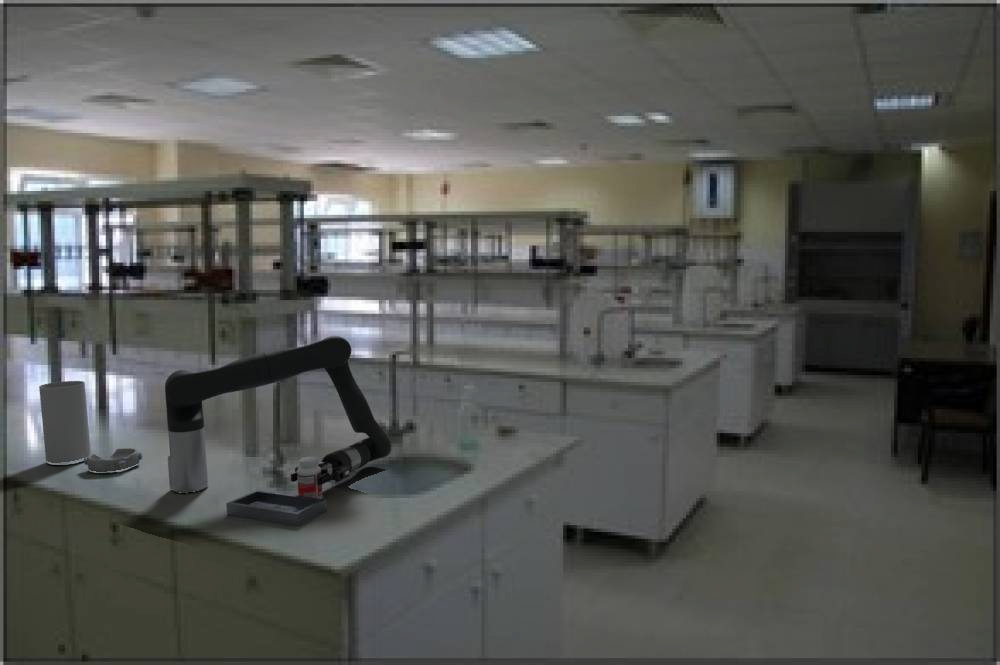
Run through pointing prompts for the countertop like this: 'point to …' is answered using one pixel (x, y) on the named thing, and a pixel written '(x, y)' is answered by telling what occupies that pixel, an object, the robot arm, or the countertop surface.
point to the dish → (114, 460)
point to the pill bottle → (309, 478)
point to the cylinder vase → (65, 421)
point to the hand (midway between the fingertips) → (305, 479)
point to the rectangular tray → (276, 507)
